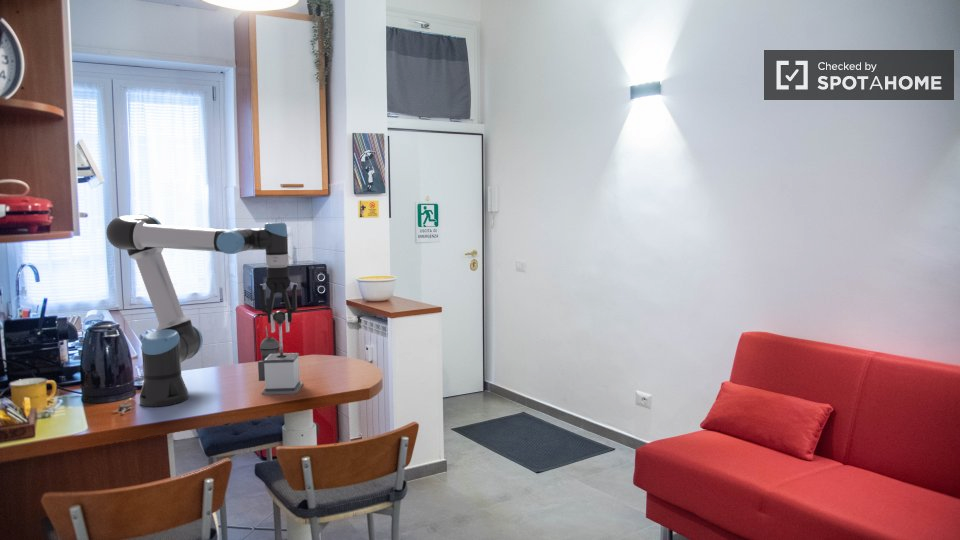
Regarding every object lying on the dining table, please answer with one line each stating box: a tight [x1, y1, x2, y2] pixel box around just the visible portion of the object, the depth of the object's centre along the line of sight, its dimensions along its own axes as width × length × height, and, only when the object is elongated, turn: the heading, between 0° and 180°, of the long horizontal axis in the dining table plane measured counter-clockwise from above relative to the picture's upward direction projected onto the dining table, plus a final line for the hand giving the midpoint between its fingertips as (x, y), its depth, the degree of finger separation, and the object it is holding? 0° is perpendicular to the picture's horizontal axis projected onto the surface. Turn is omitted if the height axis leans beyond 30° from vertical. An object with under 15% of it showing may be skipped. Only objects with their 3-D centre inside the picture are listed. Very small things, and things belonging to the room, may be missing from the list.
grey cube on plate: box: [257, 352, 304, 396], centre depth 245 cm, size 14×12×12 cm
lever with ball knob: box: [273, 310, 286, 358], centre depth 243 cm, size 8×8×20 cm
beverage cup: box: [259, 325, 280, 361], centre depth 261 cm, size 7×7×20 cm
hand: (280, 331), depth 243 cm, fingers closed on lever with ball knob, 4 cm apart
